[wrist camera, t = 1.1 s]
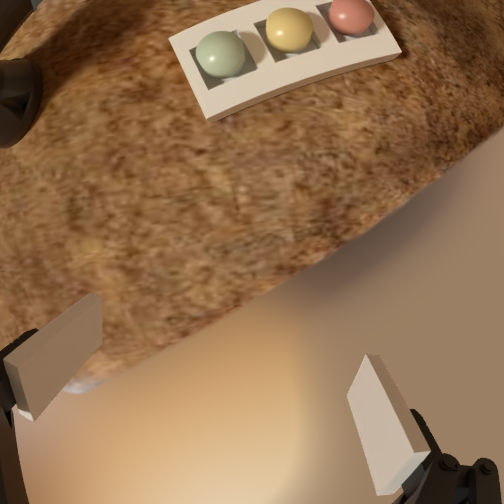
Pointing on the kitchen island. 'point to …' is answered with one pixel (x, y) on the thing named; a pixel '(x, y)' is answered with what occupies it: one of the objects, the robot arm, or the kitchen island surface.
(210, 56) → the sage button
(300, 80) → the panel
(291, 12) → the ochre button
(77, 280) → the kitchen island surface
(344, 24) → the brick button
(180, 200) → the kitchen island surface
